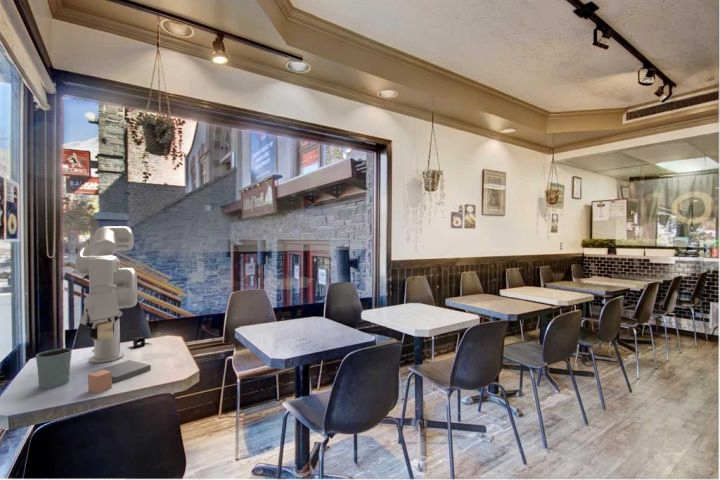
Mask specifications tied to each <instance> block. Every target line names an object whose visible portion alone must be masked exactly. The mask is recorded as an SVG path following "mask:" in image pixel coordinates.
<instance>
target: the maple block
mask: <svg viewBox="0 0 720 480" xmlns="http://www.w3.org/2000/svg"><path fill="white" fill-rule="evenodd" d="M96 328H97V339H94V338H91V340H93V341H94V340H97V341H101V340H105V339H109V338H113V322H109V321H102V322H97V324H96Z"/></svg>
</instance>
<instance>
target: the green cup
mask: <svg viewBox="0 0 720 480" xmlns="http://www.w3.org/2000/svg"><path fill="white" fill-rule="evenodd" d="M72 351H73V350H72V348H66V347H65V348H64V347H63V348H55V349H50V350H46V351H45V350H44V351H41V352H39V353H37V354H36V355H35V359H36V368H37V377H38V387H39V389H41V390H49V389H54V387H55V388H58V387H61V386H65V385H66V384H68V383H69V381H70V371H71V370H70V369H71V360H72V359H71V358H72V353H73V352H72Z"/></svg>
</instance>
